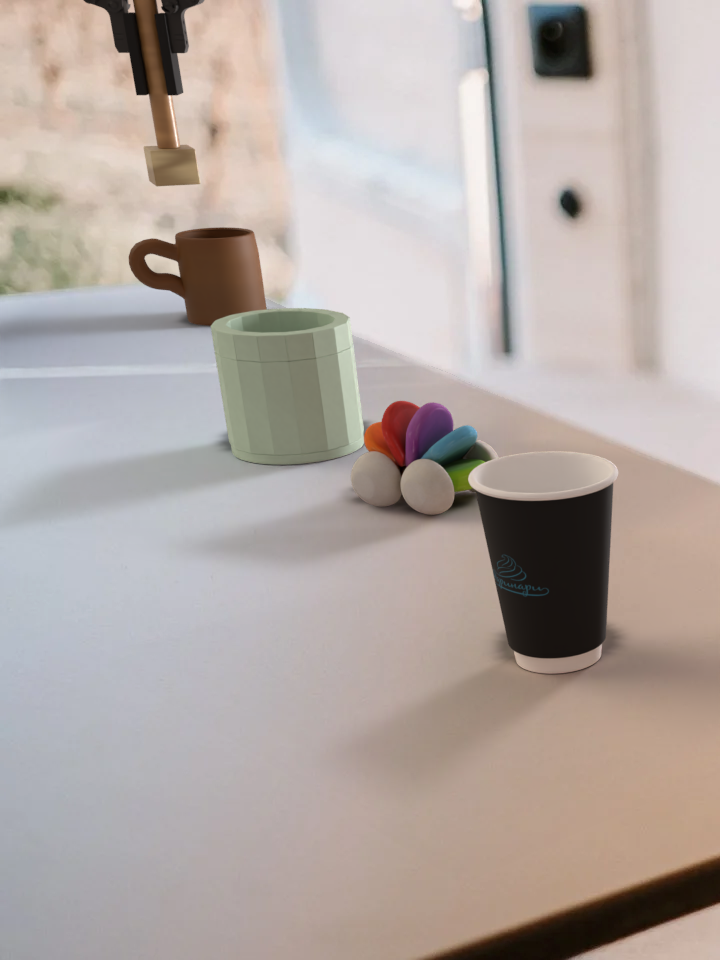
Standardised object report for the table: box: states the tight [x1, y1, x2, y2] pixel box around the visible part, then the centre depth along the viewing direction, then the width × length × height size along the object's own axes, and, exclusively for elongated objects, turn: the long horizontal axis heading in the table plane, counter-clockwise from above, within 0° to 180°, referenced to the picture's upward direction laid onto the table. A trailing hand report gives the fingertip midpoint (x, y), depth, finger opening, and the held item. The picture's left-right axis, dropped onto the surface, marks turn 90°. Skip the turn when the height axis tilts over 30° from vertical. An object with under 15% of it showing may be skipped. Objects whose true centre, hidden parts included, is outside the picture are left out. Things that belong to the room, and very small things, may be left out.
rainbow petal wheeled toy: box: [350, 400, 499, 516], centre depth 115 cm, size 8×10×7 cm
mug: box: [128, 226, 268, 327], centre depth 163 cm, size 12×8×9 cm, turn 119°
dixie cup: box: [468, 450, 619, 675], centre depth 90 cm, size 8×8×11 cm
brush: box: [132, 0, 201, 187], centre depth 139 cm, size 4×4×16 cm
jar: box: [210, 307, 365, 466], centre depth 126 cm, size 10×10×10 cm
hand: (160, 93), depth 139 cm, fingers closed on brush, 2 cm apart
